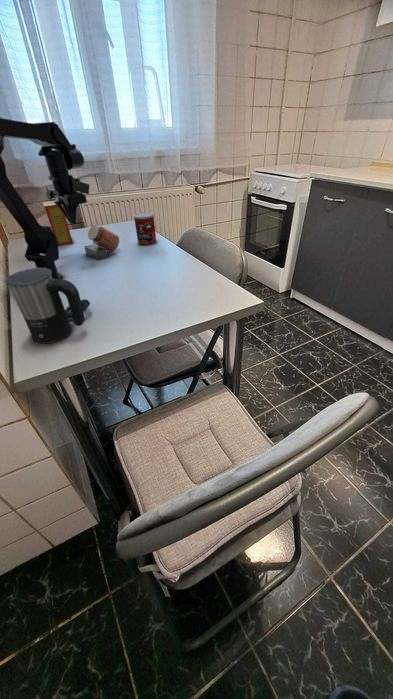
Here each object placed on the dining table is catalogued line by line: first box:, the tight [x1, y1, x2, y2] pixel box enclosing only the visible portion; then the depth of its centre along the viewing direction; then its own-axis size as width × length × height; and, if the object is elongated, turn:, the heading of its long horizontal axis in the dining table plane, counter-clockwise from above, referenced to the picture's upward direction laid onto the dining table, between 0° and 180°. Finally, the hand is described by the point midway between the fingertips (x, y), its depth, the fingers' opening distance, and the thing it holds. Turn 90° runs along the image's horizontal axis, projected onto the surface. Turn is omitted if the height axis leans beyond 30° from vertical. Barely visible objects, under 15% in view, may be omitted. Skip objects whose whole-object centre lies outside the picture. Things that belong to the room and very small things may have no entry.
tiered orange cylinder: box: [87, 224, 120, 253], centre depth 112 cm, size 8×11×11 cm
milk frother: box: [4, 267, 91, 344], centre depth 70 cm, size 14×16×15 cm
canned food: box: [133, 212, 157, 246], centre depth 121 cm, size 8×8×11 cm
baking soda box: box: [42, 200, 74, 247], centre depth 125 cm, size 10×6×16 cm
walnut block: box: [83, 243, 109, 261], centre depth 113 cm, size 10×4×3 cm, turn 43°
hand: (73, 223), depth 103 cm, fingers closed
